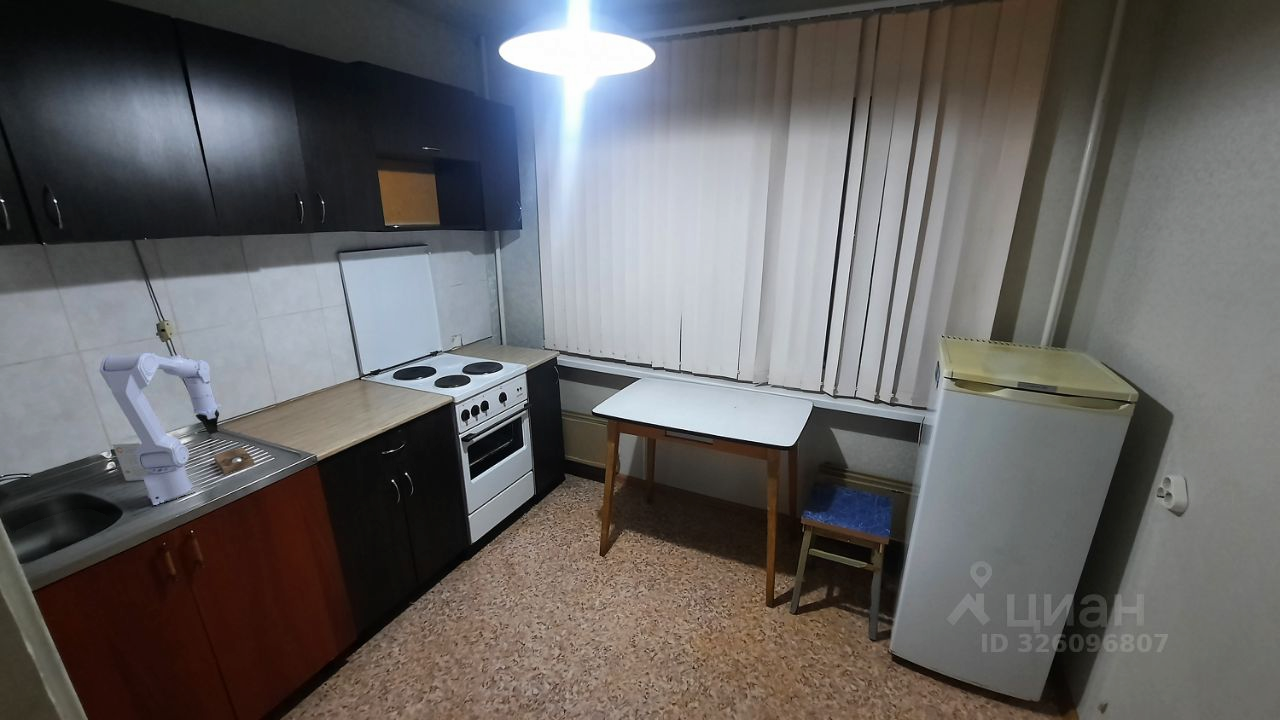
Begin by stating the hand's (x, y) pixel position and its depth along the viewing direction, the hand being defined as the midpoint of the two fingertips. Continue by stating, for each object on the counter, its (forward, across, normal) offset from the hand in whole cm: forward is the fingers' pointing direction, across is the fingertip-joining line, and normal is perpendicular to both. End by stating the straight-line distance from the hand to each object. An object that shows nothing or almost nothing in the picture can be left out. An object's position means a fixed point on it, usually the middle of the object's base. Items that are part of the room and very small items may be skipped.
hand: (213, 432), depth 168 cm
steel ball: (+8, -13, -2) cm, 15 cm away
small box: (+10, +4, +18) cm, 21 cm away
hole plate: (+9, -10, -2) cm, 14 cm away
